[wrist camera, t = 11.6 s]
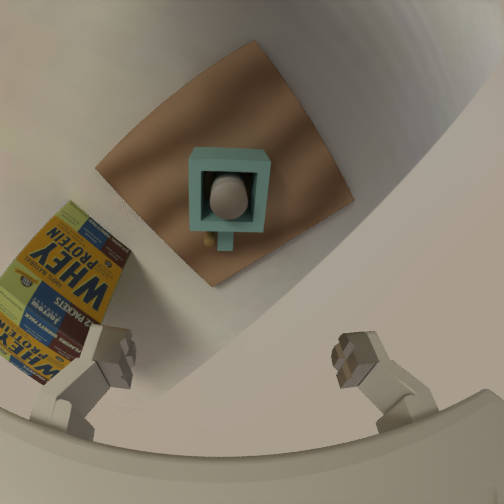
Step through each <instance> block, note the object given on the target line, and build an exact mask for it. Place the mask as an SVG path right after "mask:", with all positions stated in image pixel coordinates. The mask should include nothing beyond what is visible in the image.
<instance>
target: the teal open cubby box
mask: <svg viewBox="0 0 504 504" xmlns="http://www.w3.org/2000/svg"><path fill="white" fill-rule="evenodd" d="M270 167H271V161H270V159H269V157H268V156H267V154H266V153H265V151H264V150H263V149H247V148H221V147H194V149H193V151H192V153H191V155H190V157H189V222H190V231H218V245H217V251H233V236H234V232H263V229H264V221H265V212H266V203H267V194H268V185H269V176H270ZM204 171H230V172H251V181H250V193H249V202H248V205H247V208H246V210H245V212H244V213H243V214H242V215H241V216H239V217H238V218H235V219H229V220H228V219H222V218H220V217H218V216H217V215H215V214H214V212H213V211H212V209H211V206H210V201H205V200H204Z"/></svg>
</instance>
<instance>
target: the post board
mask: <svg viewBox="0 0 504 504" xmlns="http://www.w3.org/2000/svg"><path fill="white" fill-rule="evenodd" d="M194 147H221V148H247V149H263V150H264V151H265V153H266V154H267V156H268V157H269V159H270V161H271V167H270V176H269V185H268V194H267V203H266V212H265V221H264V229H263V232H234V236H233V251H217V245H218V231H190V222H189V157H190V155H191V153H192V151H193V149H194ZM95 169H96V170H97V171H98V172H99V173H100V174H101V175H102V176H103V178H104V179H105V180H106V181H107V182H108V183H109V184H110V185H111V186H112V187H113V188H114V190H115V191H116V192H117V193H118V194H119V195H120V196H121V197H122V198H123V199H124V200H125V201H126V202H127V203H128V205H129V206H130V207H131V208H132V209H133V210H134V211H135V212H136V213H137V214H138V215H139V216H140V217H141V218H142V219H143V220H144V221H145V222H146V223H147V224H148V225H149V226H150V227H151V228H152V229H153V230H154V231H155V232H156V233H157V234H158V235H159V236H160V237H161V238H162V239H163V240H164V241H165V242H166V243H167V244H168V245H169V246H170V247H171V248H172V249H173V250H174V251H175V252H176V253H177V254H178V255H179V256H180V257H181V258H182V259H183V260H184V261H185V262H186V263H187V264H188V265H189V266H190V267H191V268H192V269H193V270H194V271H195V272H196V273H197V274H198V275H200V276H201V277H202V278H203V279H204V280H205V281H206V282H207V283H208V284H209V285H210V286H211V287H214V286H216V285H217V284H219V283H221V282H222V281H224V280H225V279H227V278H229V277H230V276H232V275H234V274H235V273H237V272H239V271H240V270H242V269H244V268H245V267H247V266H249V265H250V264H252V263H254V262H255V261H257V260H258V259H260V258H262V257H263V256H265V255H267V254H268V253H270V252H272V251H273V250H275V249H276V248H278V247H280V246H281V245H283V244H285V243H286V242H288V241H290V240H291V239H293V238H294V237H296V236H298V235H299V234H301V233H303V232H304V231H306V230H307V229H309V228H311V227H312V226H314V225H315V224H317V223H319V222H320V221H322V220H324V219H325V218H327V217H328V216H330V215H332V214H333V213H335V212H336V211H338V210H340V209H341V208H343V207H344V206H346V205H348V204H349V203H351V202H353V201H354V198H353V196H352V194H351V192H350V190H349V188H348V186H347V184H346V182H345V180H344V178H343V176H342V174H341V173H340V171H339V169H338V167H337V165H336V163H335V161H334V160H333V158H332V156H331V154H330V152H329V151H328V149H327V147H326V145H325V143H324V142H323V140H322V138H321V137H320V135H319V133H318V131H317V130H316V128H315V126H314V125H313V123H312V122H311V120H310V118H309V117H308V115H307V114H306V112H305V110H304V109H303V107H302V106H301V104H300V103H299V101H298V99H297V98H296V96H295V95H294V93H293V92H292V90H291V89H290V88H289V86H288V85H287V83H286V82H285V80H284V79H283V77H282V76H281V75H280V73H279V72H278V70H277V69H276V68H275V66H274V65H273V64H272V62H271V61H270V60H269V58H268V57H267V56H266V54H265V53H264V52H263V50H262V49H261V48H260V46H259V45H258V44H257V43H256V41H255V40H254V41H252V42H250V43H248V44H247V45H245V46H243V47H241V48H240V49H238V50H236V51H235V52H233V53H231V54H230V55H228V56H227V57H225V58H224V59H222V60H220V61H219V62H217V63H216V64H214V65H213V66H211V67H210V68H208V69H207V70H206V71H204V72H203V73H201V74H200V75H198V76H197V77H196V78H194V79H193V80H192V81H190V82H189V83H187V84H186V85H185V86H184V87H182V88H181V89H180V90H178V91H177V92H176V93H174V94H173V95H172V96H171V97H169V98H168V99H167V100H166V101H165V102H163V103H162V104H161V105H160V106H159V107H157V108H156V109H155V110H154V111H153V112H151V113H150V114H149V115H148V116H147V117H146V118H145V119H144V120H142V121H141V122H140V123H139V124H138V125H137V126H136V127H135V128H134V129H133V130H132V131H131V132H129V133H128V134H127V135H126V136H125V137H124V138H123V139H122V140H121V141H120V142H119V143H118V144H117V145H116V146H115V147H114V148H113V149H112V150H111V151H110V152H109V153H108V154H107V156H106V157H105V158H104V159H103V160H102V161H101V162H100V163H99V164H98V165H97V166H96V167H95ZM250 181H251V172H230V171H204V200H205V201H210V206H211V209H212V211H213V212H214V214H215V215H217V216H218V217H220V218H222V219H228V220H229V219H235V218H238V217H239V216H241V215H242V214H243V213H244V212H245V210H246V208H247V205H248V202H249V193H250Z"/></svg>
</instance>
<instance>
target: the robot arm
mask: <svg viewBox="0 0 504 504" xmlns="http://www.w3.org/2000/svg"><path fill="white" fill-rule="evenodd" d="M131 338H132V333H131V330H130V329H123V328H116V327H110V326H104V325H97V324H93V325H92V326H91V327H90V330H89V332H88V335H87V338H86V341H85V344H84V346H83V349H82V352H81V355H80V358H75V359H74V360H73V361H72V362H71V363H69V364H68V365H67V366H66V367H65V368H64V369H62V370H61V371H60V372H59V373H58V374H56V375H55V376H54V377H53V378H52V379H51V380H50V381H48V382H47V383H46V384H45V385H44V386H43V387H41V388H40V389H39V390H38V392H37V395H36V398H35V401H34V405H33V408H32V412H31V416H30V420H27V419H25V418H23V417H20V416H18V415H16V414H14V413H12V412H9V411H7V410H5V409H3V408H1V407H0V504H504V400H502V399H501V398H500V397H499V396H498V395H496V394H495V393H494V392H492V391H490V390H488V389H483V390H481V391H479V392H477V393H475V394H474V395H472V396H470V397H468V398H466V399H464V400H462V401H460V402H458V403H457V404H454V405H452V406H450V407H448V408H446V409H444V410H441V411H439V410H438V407H437V405H436V403H435V400H434V398H433V396H432V394H431V392H430V389H429V388H428V387H427V386H425V385H424V384H423V383H422V382H420V381H419V380H418V379H416V378H415V377H414V376H413V375H411V374H410V373H409V372H407V371H406V370H405V369H404V368H402V367H401V366H400V365H398V364H397V363H396V362H394V361H393V360H389V357H388V355H387V353H386V351H385V349H384V347H383V345H382V343H381V341H380V339H379V337H378V334H377V333H376V332H375V331H367V332H354V333H343V334H342V335H340V337H339V343H338V344H337V345H335V346H334V348H333V350H332V355H331V358H332V363H333V367H334V368H336V369H337V370H338V373H337V375H336V376H337V379H338V382H339V385H340V388H348V387H356V386H358V388H359V389H360V390H361V391H362V392H363V393H364V394H365V395H366V396H367V397H368V398H369V399H370V400H371V401H372V403H373V404H374V405H375V406H376V407H377V408H378V409H379V410H380V411H381V412H382V413H383V414H384V415H383V416H382V417H381V418H380V419H379V420H377V422H376V426H377V429H378V432H379V434H377V435H373V436H370V437H366V438H363V439H359V440H355V441H351V442H346V443H342V444H338V445H333V446H328V447H323V448H317V449H311V450H305V451H298V452H291V453H283V454H273V455H261V456H242V457H199V456H182V455H169V454H160V453H152V452H145V451H138V450H132V449H126V448H121V447H116V446H111V445H107V444H102V443H98V442H94V441H93V437H94V430H95V429H94V428H93V426H92V425H91V424H90V423H89V422H88V421H87V420H86V419H85V416H86V415H87V414H88V413H89V412H90V411H91V409H92V408H93V407H94V406H95V405H96V404H97V402H98V401H99V400H100V399H101V398H102V397H103V395H104V394H105V393H106V392H107V391H108V390H109V388H110V387H117V388H124V389H130V387H131V381H132V376H133V374H132V372H131V368H132V367H133V366H134V365H135V359H136V348H135V343H134V342H133V341H132V340H131ZM109 386H110V387H109Z"/></svg>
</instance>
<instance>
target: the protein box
mask: <svg viewBox="0 0 504 504" xmlns="http://www.w3.org/2000/svg"><path fill="white" fill-rule="evenodd" d="M130 253H131V250H129V249H128V248H127V247H125V246H124V245H123V244H122V243H120V242H119V241H118V240H117V239H115V238H114V237H113V236H112V235H110V234H109V233H108V232H107V231H106V230H104V229H103V228H102V227H101V226H100V225H98V224H97V223H96V222H95V221H94V220H93V219H91V218H90V217H89V216H88V215H87V214H85V213H84V212H83V211H82V210H81V209H80V208H79V207H77V206H76V205H75V204H74V203H73V202H72V201H69V202H68V203H67V204H65V205H64V206H63V207H62V208H61V209H60V210H59V211H58V212H57V213H56V214H55V215H54V216H53V217H52V218H51V219H50V220H49V221H48V222H47V223H46V224H45V225H44V226H43V228H42V229H41V230H40V231H39V232H38V233H37V234H36V235H35V236H34V237H33V238H32V240H31V241H30V242H29V243H28V244H27V245H26V246H25V247H24V249H23V250H22V251H21V252H20V253H19V254H18V256H17V257H16V258H15V259H14V260H13V262H12V263H11V264H10V266H9V267H8V268H7V269H6V271H5V272H4V273H3V275H2V276H1V277H0V355H1V356H3V357H4V358H5V359H7V360H8V361H9V362H11V363H12V364H13V365H14V366H16V367H17V368H19V369H20V370H21V371H23V372H24V373H26V374H27V375H28V376H30V377H32V378H33V379H34V380H36V381H38V382H39V383H41V384H42V385H45V384H46V383H47V382H48V381H50V380H51V379H52V378H53V377H54V376H55V375H56V374H58V373H59V372H60V371H61V370H62V369H64V368H65V367H66V366H67V365H68V364H69V363H71V362H72V361H73V360H74V359H75V358H80V355H81V352H82V349H83V346H84V344H85V341H86V338H87V335H88V332H89V330H90V327H91V326H92V325H93V324H97V325H101V324H102V321H103V319H104V316H105V313H106V311H107V308H108V306H109V303H110V301H111V298H112V296H113V293H114V291H115V288H116V286H117V283H118V281H119V278H120V276H121V274H122V271H123V269H124V266H125V264H126V262H127V260H128V257H129V255H130Z"/></svg>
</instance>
